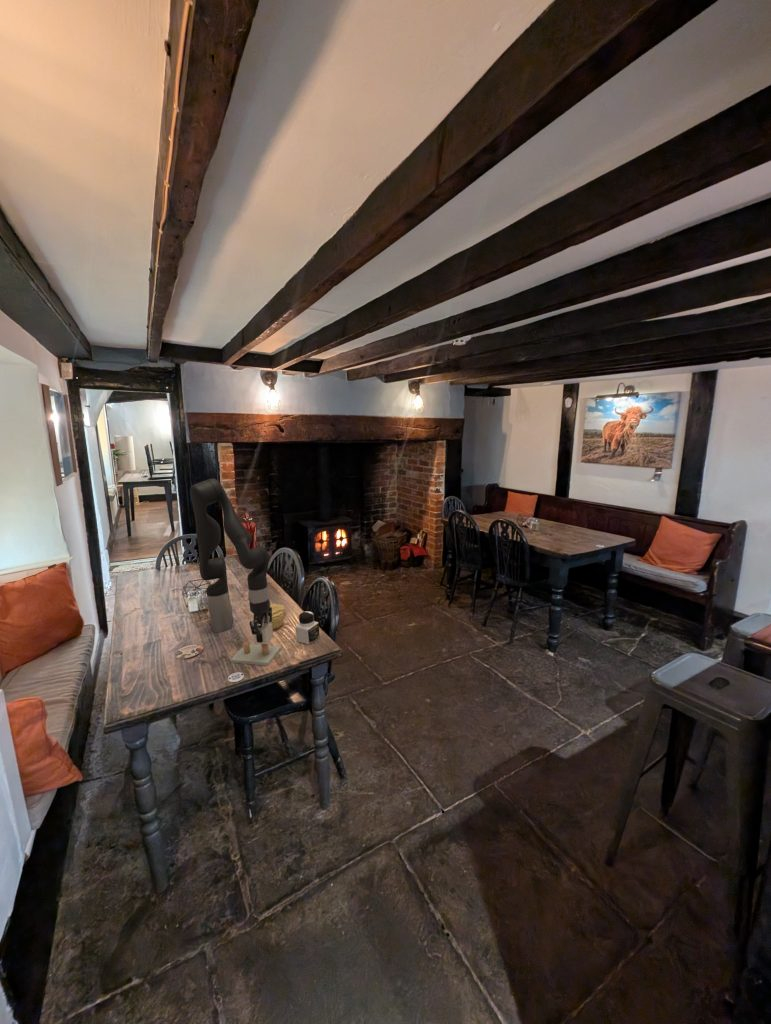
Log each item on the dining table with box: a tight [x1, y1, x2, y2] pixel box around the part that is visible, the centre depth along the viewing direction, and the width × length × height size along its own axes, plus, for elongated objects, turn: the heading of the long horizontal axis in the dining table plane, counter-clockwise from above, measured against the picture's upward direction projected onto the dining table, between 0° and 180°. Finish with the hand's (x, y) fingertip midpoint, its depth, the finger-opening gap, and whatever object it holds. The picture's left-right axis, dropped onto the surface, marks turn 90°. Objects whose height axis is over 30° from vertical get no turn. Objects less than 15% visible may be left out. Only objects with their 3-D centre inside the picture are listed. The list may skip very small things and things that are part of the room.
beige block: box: [252, 623, 274, 645], centre depth 164 cm, size 5×5×6 cm
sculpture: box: [269, 602, 287, 630], centre depth 190 cm, size 11×12×11 cm
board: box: [229, 641, 283, 667], centre depth 166 cm, size 12×16×5 cm
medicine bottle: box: [294, 611, 320, 645], centre depth 177 cm, size 7×7×12 cm
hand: (263, 638), depth 164 cm, fingers closed on beige block, 5 cm apart
